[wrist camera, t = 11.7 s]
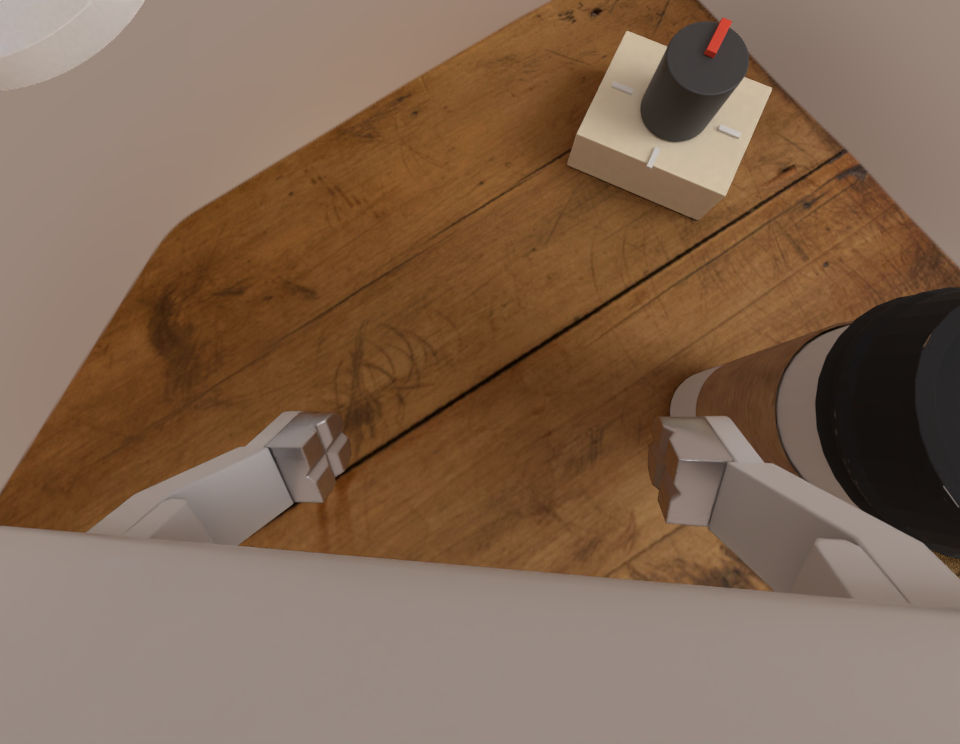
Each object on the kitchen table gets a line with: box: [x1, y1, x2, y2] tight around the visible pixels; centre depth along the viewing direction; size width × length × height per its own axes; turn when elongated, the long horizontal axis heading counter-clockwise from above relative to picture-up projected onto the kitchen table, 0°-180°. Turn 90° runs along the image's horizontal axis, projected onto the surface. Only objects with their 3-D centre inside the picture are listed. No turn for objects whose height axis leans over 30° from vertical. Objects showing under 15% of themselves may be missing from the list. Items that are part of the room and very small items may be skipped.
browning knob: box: [641, 18, 749, 142], centre depth 21 cm, size 4×4×4 cm
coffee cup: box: [670, 288, 960, 559], centre depth 17 cm, size 8×8×15 cm
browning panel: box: [567, 31, 772, 220], centre depth 25 cm, size 10×9×3 cm
